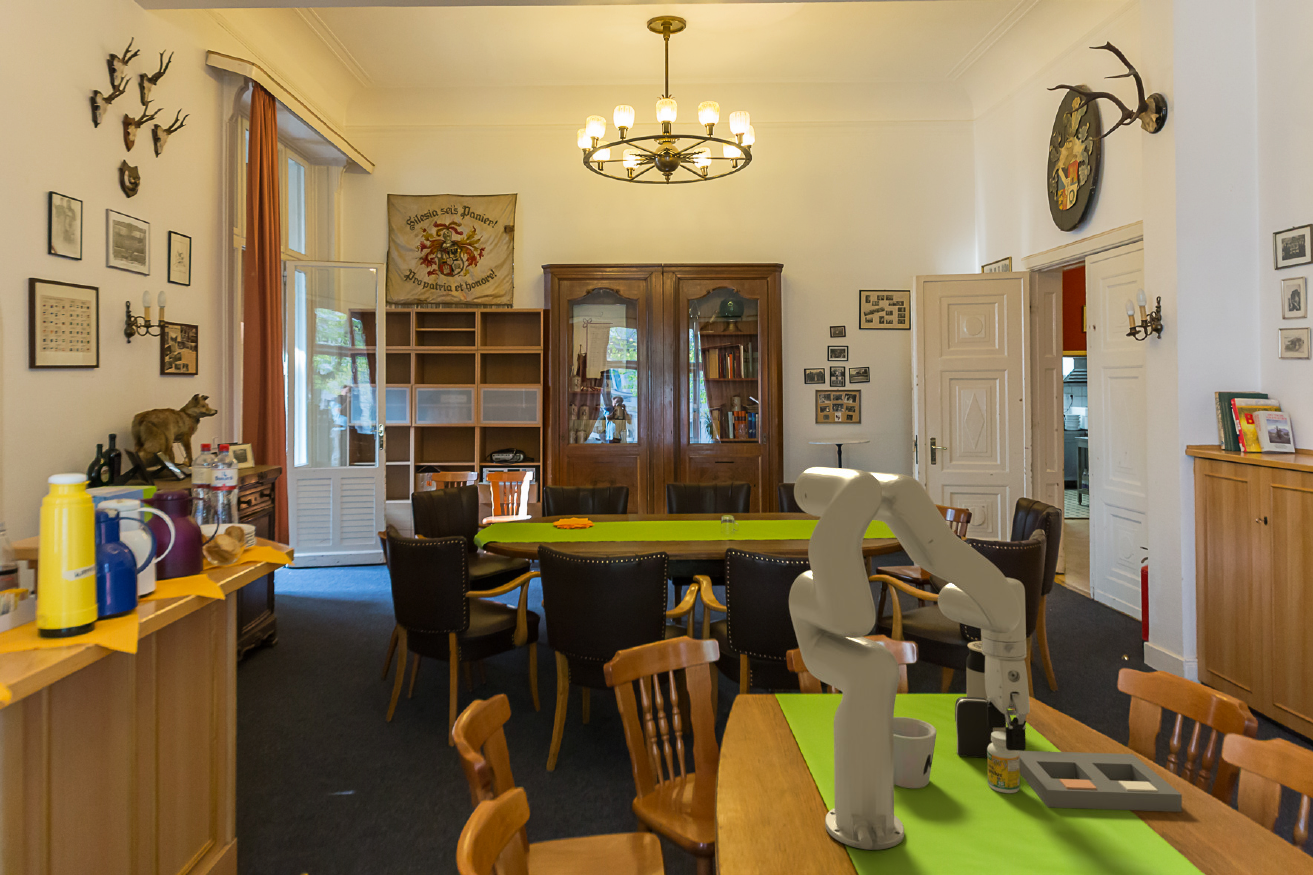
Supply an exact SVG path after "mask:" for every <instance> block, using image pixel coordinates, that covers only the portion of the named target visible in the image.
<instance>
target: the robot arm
mask: <svg viewBox="0 0 1313 875" xmlns="http://www.w3.org/2000/svg"><path fill="white" fill-rule="evenodd" d="M793 496H794V500H795V502H796V504H797V506H798V507H799V508H800V509H801V511H802V512H805V513H806V514H808V515H810V516H814V517H820V518H819V519H818V521H817V523H816V525H815V527H814V529H813V531H812V533H811V536H810V539H809V542H808V548H807V549H808V551H807V554H808V561H809V566H810V567H809V568H810V569H809V570H806V571H804V572H802V573H800V574H799V575H798V576H797V577H796V578H795V579H794V580H793V581H794V582H793V583H792V584H791V586H790V590H789V596H788V609H789V614H790V617H791V622H792V626H793V630H794V632H795V636H796V640H797V644H798V648H799V651H800V654H801V659H802V661H803V663H804V665H805V668H806V669H807V670H808V672H809V673H810V674H811V676H813V677H814V678H816V679H817V680H818V681H820V682H822V683H825V684H827V685H828V686H831V687H833V688H835V689H837V690H838V691H839V692H840V691H841V694H842V698H841V700H840V703H839V704H838V707H837V709H836V711H835V713H834V719H833V751H834V752H833V758H834V760H833V763H834V764H833V766H834V767H833V768H834V769H833V770H834V771H833V773H834V774H833V775H834V779H833V780H834V781H833V782H834V786H833V787H834V808H832V809H830V810H829V811H828V812H827V814H826V815H825V817H824V823H825V826H824V827H825V829H826V832H828V834H829V835H830V836H831V837H832V838H834V839H835V840H836V841H838V842H840V843H841V844H844V845H846V846H848V847H853V848H857V849H861V850H869V851H872V850H873V851H878V850H879V851H880V850H886V849H890V848H893V847H895V846H897V845H898V844H900V843H901V842H902V841H903V840H904V838H905V826H904V823H903V822H902V821H901V819H899V818H898V816H896V815H895V784H894V739H893V719H894V717H895V716H894V714H895V704H896V697H897V691H898V687H899V685H900V684H899V682H900V676H901V674H900V667H899V666H900V665H899V662H898V660H897V659H896V657H895V655H894V654H893V653H892V652H891V650H890V649H888V648H887V647H886V646H885V645H882V644H881V643H879V642H877V641H875V640H871V639H870V638H866V637H864V636H867V635H868V634H869V633H871V631H872V630H873V628H874V626H875V624H876V607H875V603H874V599H873V595H872V590H871V586H870V583H869V578H868V574H867V570H866V566H865V560H864V555H863V542H864V538H865V534H866V533H867V530H868V528H869V526H870V525H871V523H872V521H880V522H883V523H884V524H886V525H887V527H888V528H889V529H890V531H891V533H893V535H894V537H895V538H896V540H898V542H899V543H900V545H901V547H902V548H903V549H904V551H905V552H906V554H907V555H908V557H909V558H910V560H911V561H912V562H913V563H914V564H916V565H917V566H918V567H920V569H923V570H924V571H927V572H928V573H929V574H931V575H933V576H935V577H937V578H939V579H942V580H943V581H946V582H947V584H946V585H945V586H943V587H942V588H941V589H940V591H939V593H938V596H937V605H938V608H939V610H940V612H941V613H942V614H943V616H944V617H946V618H947V619H949V620H951V621H954V622H957V623H960V624H963V625H966V626H969V627H974V628H977V629H980V638H981V639H980V641H981V648H982V654H983V655H985V690H986V695H987V705H990V706H987V723H988V726H989V727H990V728H1005V729H1006V730H1005V732H1006V748H1007V750H1018V751H1026V749H1027V748H1026V747H1027V744H1026V743H1027V740H1026V730H1027V729H1026V728H1027V727H1026V723H1027V719H1026V717H1027V715H1028V714H1030V708H1031V706H1030V694H1029V683H1028V682H1029V681H1028V673H1027V667H1026V666H1027V665H1026V660H1025V658H1027V634H1026V633H1027V629H1026V628H1027V626H1026V623H1027V622H1026V619H1027V618H1026V589H1025V586H1024V584H1023V583H1022V581H1020V580H1019V579H1016V578H1013V577H1012V578H1011V577H1006V576H1005V575H1004V573H1003V572H1002V571H1001V570H1000V569H999V568H998V567H997V565H995V564H994V563H993V562H992V561H990V560H989V559H988V558H987V557H985V556H984V555H983V554H981V553H980V552H978V551H977V549H975V548H974V547H972V546H971V545H970V544H969V543H967V542H965V541H964V540H963V539H961V538H960V537H959V536H957V535H956V534H955V532H954V531H953V529H952V528H951V526H950V525H949V523H948V522H947V520H946V518H944V516H943V514H942V513H941V511H940V510H939V509H938V507H937V505H936V504H935V503H934V501H933V499H932V498H931V497H930V495H929V494H928V492H927V490H926V489H925V488H924V487H923V485H922V484H921V483H920V481H918V480H917V479H916V478H914V477H913V476H910V475H907V474H901V473H894V472H893V473H891V472H890V473H889V472H877V471H876V472H875V471H864V470H860V469H854V468H844V467H843V468H842V467H841V468H839V467H827V466H826V467H825V466H824V467H823V466H813V467H809V468H807V469H806V470H804V471H803V472H801V473H800V474H799V475H798V477H797V479H796V480H795V483H794V487H793ZM1012 716H1015V717H1013V719H1012Z"/></svg>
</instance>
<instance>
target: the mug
mask: <svg viewBox="0 0 1313 875" xmlns="http://www.w3.org/2000/svg"><path fill="white" fill-rule="evenodd" d="M893 739H894V786H898V787H901V788H904V789H923V788H924V787H926V786H928V784H929V783H930V777H931V771H932V765H933V760H934V752H935V745H936V740H937V729H936V728H935V726H934V725H932V724H931V723H929V722H927V721H924V720H922V719H917V718H913V717H905V716H894V719H893Z"/></svg>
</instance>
